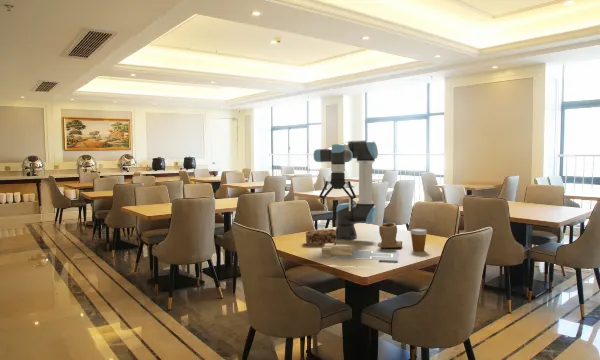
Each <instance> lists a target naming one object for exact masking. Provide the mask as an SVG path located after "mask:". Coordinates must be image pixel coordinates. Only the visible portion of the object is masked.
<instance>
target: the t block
mask: <svg viewBox="0 0 600 360" xmlns="http://www.w3.org/2000/svg"><path fill="white" fill-rule="evenodd" d="M353 246H354V245H337V244H336V245H335V243H326V244H325V245H323V246H322V248H321V253H322V257H331V255H332V254H333V255H352V254H353V250H354V248H353Z"/></svg>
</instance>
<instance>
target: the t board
mask: <svg viewBox="0 0 600 360" xmlns="http://www.w3.org/2000/svg"><path fill="white" fill-rule="evenodd" d="M398 255H399V254H398V251H392V250H388V251H386V250H385V251H384V250H371V249H370V250H369V249H368V250H366V249H365V250H364V249H359V250H358V249H353V254H352V255H333V254H332V255H331V257H322V252H320V254H319V256H318V258H322V259H324V258H325V259H326V258H327V259H328V258H329V259H347V260H348V259H349V260H369V261H371V260H373V261H374V260H375V261H378V263H380V262H381V263H398V261H399V259H398V257H399V256H398Z"/></svg>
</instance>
